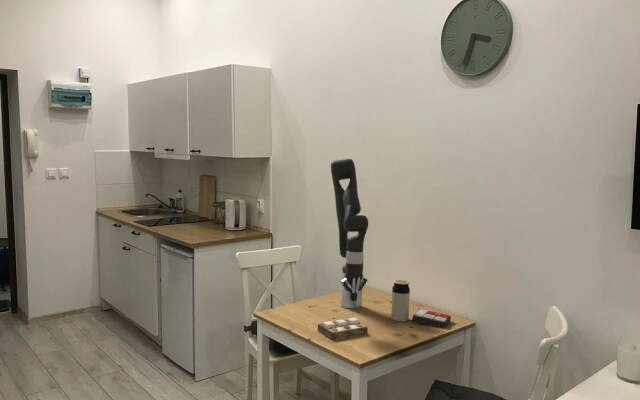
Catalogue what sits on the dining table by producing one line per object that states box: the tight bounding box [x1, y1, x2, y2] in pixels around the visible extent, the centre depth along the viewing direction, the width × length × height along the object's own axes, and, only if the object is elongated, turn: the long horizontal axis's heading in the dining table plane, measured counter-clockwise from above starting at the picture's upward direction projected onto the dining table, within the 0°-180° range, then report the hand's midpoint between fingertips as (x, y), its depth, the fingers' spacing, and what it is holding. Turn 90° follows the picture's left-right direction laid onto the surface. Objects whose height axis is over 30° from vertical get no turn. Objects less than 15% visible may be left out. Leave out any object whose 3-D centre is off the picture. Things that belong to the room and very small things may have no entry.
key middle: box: [334, 319, 347, 327], centre depth 229 cm, size 4×4×2 cm
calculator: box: [411, 308, 452, 329], centre depth 245 cm, size 11×4×15 cm
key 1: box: [322, 320, 335, 329], centre depth 226 cm, size 4×4×2 cm
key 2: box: [346, 317, 360, 325], centre depth 232 cm, size 4×4×2 cm
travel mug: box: [390, 278, 411, 323], centre depth 247 cm, size 8×8×18 cm
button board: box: [317, 319, 369, 341], centre depth 228 cm, size 18×12×3 cm
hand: (353, 300), depth 231 cm, fingers closed
